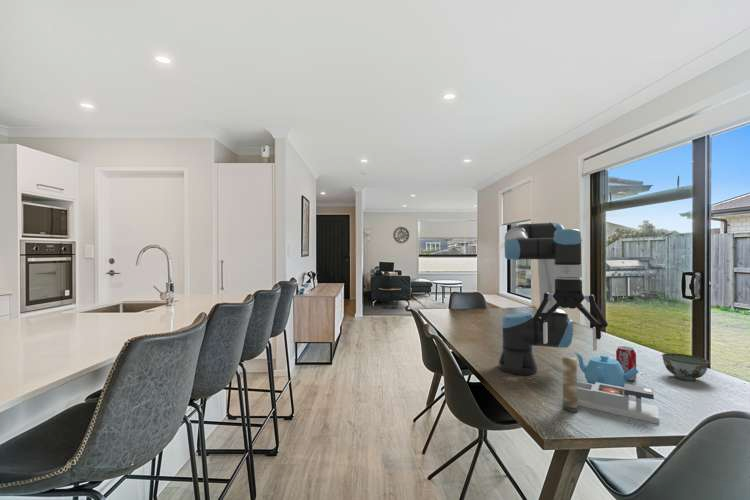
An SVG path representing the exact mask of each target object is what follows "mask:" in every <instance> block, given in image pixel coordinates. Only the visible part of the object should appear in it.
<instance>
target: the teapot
mask: <svg viewBox="0 0 750 500" xmlns="http://www.w3.org/2000/svg"><path fill="white" fill-rule="evenodd" d="M573 354H575V355H576V356H577V358H578V366H579V367H580V371H581V372H582V373H584V379H585V380H586V381H587V383H590V384H595V383H596V382H597V383H603V384H608V385H613V386H619V387H624V385H625V384H626V383H627V382H626V381H627V380H628V379H629V378H631V377H633V376H634V375H636V376H637V374H639V372H640V371H639V370H638V369H637V368H636V369H635V368H634V367H633V368H632V369H630V370H629V371H628V372H626V373H625V374H624V371H623V368H622V366H621V365H620V363H619V361H617V360H616V359H613V358H609V356H608V355H604V354H601V355H600V356H592V357H591V358H590V359H589V360H588V363H587V365H586V364H585V363H584V359H583V356H582V355H581V354H579V353H578V352H573Z"/></svg>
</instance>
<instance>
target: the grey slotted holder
mask: <svg viewBox="0 0 750 500" xmlns="http://www.w3.org/2000/svg"><path fill="white" fill-rule="evenodd" d="M604 388H610V389H614V390H617V391H619V392H620V395H619V394H614V393H609V392H604V391H602V389H604ZM577 398H578V407H579V406H580V407H583V408H588V409H592V410H595V411H596V410H598V411H601V412H606V413H611V414H615V415H619V416H624V417H629V418H632V419H637V420H642V421H645V422H650V423H653V424H660V414H659V406H657V405H654V404H648V403H643V402H642V397H637V396H635V400H630V395H627V394H624V386H623V387H619V386H613V385H608V384H603V383H597V382H596V383H595V384H590V383H588V382H583V381H578V380H577Z"/></svg>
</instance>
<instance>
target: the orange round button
mask: <svg viewBox="0 0 750 500" xmlns="http://www.w3.org/2000/svg"><path fill="white" fill-rule="evenodd" d="M602 391H604V392H609V393H614V394H619V395H620V392H619V391H617V390H614V389H610V388H604V389H602Z"/></svg>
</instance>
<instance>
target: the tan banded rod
mask: <svg viewBox="0 0 750 500" xmlns="http://www.w3.org/2000/svg"><path fill="white" fill-rule="evenodd" d="M561 363H562V367H561V369H562V371H561V372H562V373H561V374H562V375H561V376H562V377H561V378H562V409H563V411H565V412H567V413H573V414H575V413H578V412H579V408H578V407H579V405H578V398H577V381H578V365H577V364H578V360H577V358H576V357H574V356H562V357H561Z"/></svg>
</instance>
